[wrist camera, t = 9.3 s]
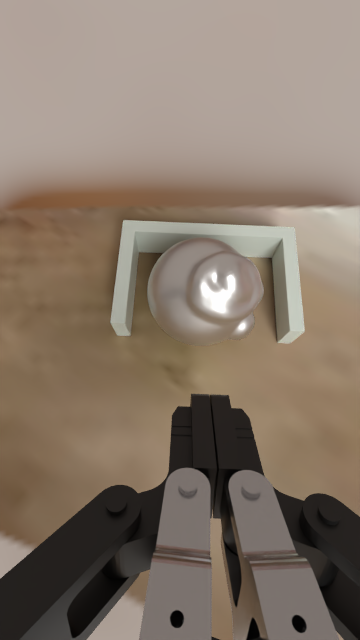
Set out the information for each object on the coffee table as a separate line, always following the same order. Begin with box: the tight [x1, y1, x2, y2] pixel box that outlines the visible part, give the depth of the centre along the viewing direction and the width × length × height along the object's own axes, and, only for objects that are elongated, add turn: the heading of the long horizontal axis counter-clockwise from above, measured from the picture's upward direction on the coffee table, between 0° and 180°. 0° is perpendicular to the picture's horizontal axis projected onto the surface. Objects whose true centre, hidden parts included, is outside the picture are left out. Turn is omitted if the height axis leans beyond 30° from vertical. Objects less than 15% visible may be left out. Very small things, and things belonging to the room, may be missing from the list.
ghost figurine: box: [147, 237, 264, 346], centre depth 26 cm, size 9×9×10 cm
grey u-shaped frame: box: [110, 220, 305, 343], centre depth 30 cm, size 16×10×4 cm, turn 88°
